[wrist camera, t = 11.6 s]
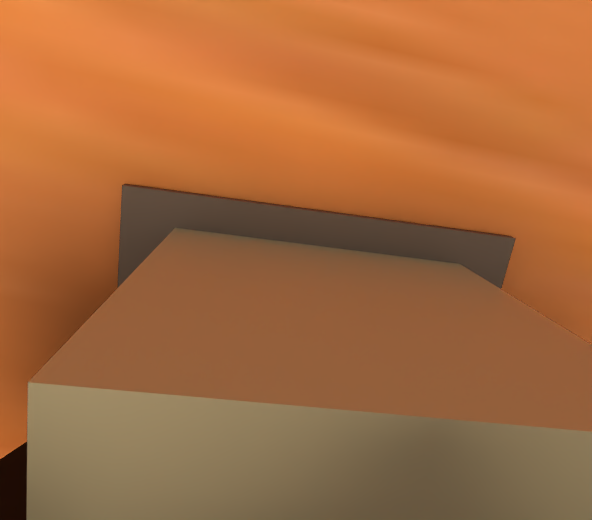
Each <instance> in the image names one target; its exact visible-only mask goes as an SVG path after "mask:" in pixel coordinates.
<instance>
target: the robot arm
mask: <svg viewBox="0 0 592 520" xmlns="http://www.w3.org/2000/svg"><path fill="white" fill-rule="evenodd" d="M26 515H27V442H26V443H24V444H23V445H21V446H20V447H18V448H17V449H15V450H14V451H12V452H11V453H9V454H8V455H6V456H5V457H3V458H2V459H0V520H26Z"/></svg>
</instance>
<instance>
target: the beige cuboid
mask: <svg viewBox="0 0 592 520" xmlns="http://www.w3.org/2000/svg"><path fill="white" fill-rule="evenodd" d="M26 520H592V345H591V344H590V343H588V342H586V341H585V340H583V339H582V338H580V337H578V336H577V335H575V334H573V333H572V332H570V331H568V330H567V329H565V328H564V327H562V326H560V325H559V324H557V323H555V322H554V321H552V320H551V319H549V318H547V317H546V316H544V315H542V314H541V313H539V312H537V311H536V310H534V309H533V308H531V307H529V306H528V305H526V304H524V303H523V302H521V301H519V300H518V299H516V298H515V297H513V296H511V295H510V294H508V293H506V292H505V291H503V290H502V289H500V288H498V287H497V286H495V285H493V284H492V283H490V282H488V281H487V280H485V279H484V278H482V277H480V276H479V275H477V274H475V273H474V272H472V271H470V270H469V269H467V268H466V267H464V266H462V265H461V264H457V263H449V262H441V261H433V260H425V259H418V258H410V257H402V256H394V255H386V254H378V253H370V252H362V251H355V250H347V249H339V248H331V247H323V246H315V245H307V244H299V243H291V242H284V241H276V240H268V239H260V238H252V237H244V236H236V235H228V234H221V233H213V232H205V231H197V230H189V229H181V228H174V229H173V231H172V232H171V233H170V234H169V235H168V236H167V237H166V238H165V239H164V240H163V241H162V242H161V243H160V244H159V245H158V246H157V247H156V248H155V249H154V250H153V252H152V253H151V254H150V255H149V256H148V257H147V258H146V259H145V260H144V261H143V262H142V263H141V264H140V265H139V266H138V267H137V268H136V269H135V270H134V271H133V272H132V274H131V275H130V276H129V277H128V278H127V279H126V280H125V281H124V282H123V283H122V284H121V285H120V286H119V287H118V288H117V289H116V290H115V291H114V292H113V293H112V295H111V296H110V297H109V298H108V299H107V300H106V301H105V302H104V303H103V304H102V305H101V306H100V307H99V308H98V309H97V310H96V311H95V312H94V313H93V314H92V316H91V317H90V318H89V319H88V320H87V321H86V322H85V323H84V324H83V325H82V326H81V327H80V328H79V329H78V330H77V331H76V332H75V333H74V334H73V335H72V337H71V338H70V339H69V340H68V341H67V342H66V343H65V344H64V345H63V346H62V347H61V348H60V349H59V350H58V351H57V352H56V353H55V354H54V355H53V356H52V357H51V359H50V360H49V361H48V362H47V363H46V364H45V365H44V366H43V367H42V368H41V369H40V370H39V371H38V372H37V373H36V374H35V375H34V376H33V377H32V378H31V380H30V381H29V382H28V419H27V515H26Z"/></svg>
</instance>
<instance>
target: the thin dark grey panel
mask: <svg viewBox="0 0 592 520" xmlns="http://www.w3.org/2000/svg"><path fill="white" fill-rule="evenodd" d="M174 228H181V229H189V230H197V231H205V232H213V233H221V234H228V235H236V236H244V237H252V238H260V239H268V240H276V241H284V242H291V243H299V244H307V245H315V246H323V247H331V248H339V249H347V250H355V251H362V252H370V253H378V254H386V255H394V256H402V257H410V258H418V259H425V260H433V261H441V262H449V263H457V264H461V265H462V266H464V267H466V268H467V269H469V270H470V271H472V272H474V273H475V274H477V275H479V276H480V277H482V278H484V279H485V280H487V281H488V282H490V283H492V284H493V285H495V286H497V287H498V288H500V289H501V288H502V284H503V281H504V277H505V274H506V270H507V267H508V263H509V260H510V256H511V253H512V249H513V246H514V242H515V239H516V238H513V237H511V236H505V235H498V234H490V233H483V232H476V231H468V230H461V229H453V228H446V227H439V226H431V225H424V224H417V223H409V222H402V221H394V220H387V219H380V218H372V217H365V216H358V215H350V214H343V213H335V212H328V211H321V210H313V209H306V208H298V207H291V206H284V205H276V204H269V203H262V202H254V201H247V200H239V199H232V198H225V197H217V196H210V195H203V194H195V193H188V192H180V191H173V190H166V189H158V188H151V187H144V186H136V185H129V184H124V185H122V201H121V223H120V245H119V267H118V287H119V286H120V285H121V284H122V283H123V282H124V281H125V280H126V279H127V278H128V277H129V276H130V275H131V274H132V272H133V271H134V270H135V269H136V268H137V267H138V266H139V265H140V264H141V263H142V262H143V261H144V260H145V259H146V258H147V257H148V256H149V255H150V254H151V253H152V252H153V250H154V249H155V248H156V247H157V246H158V245H159V244H160V243H161V242H162V241H163V240H164V239H165V238H166V237H167V236H168V235H169V234H170V233H171V232H172V231H173V229H174Z"/></svg>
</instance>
